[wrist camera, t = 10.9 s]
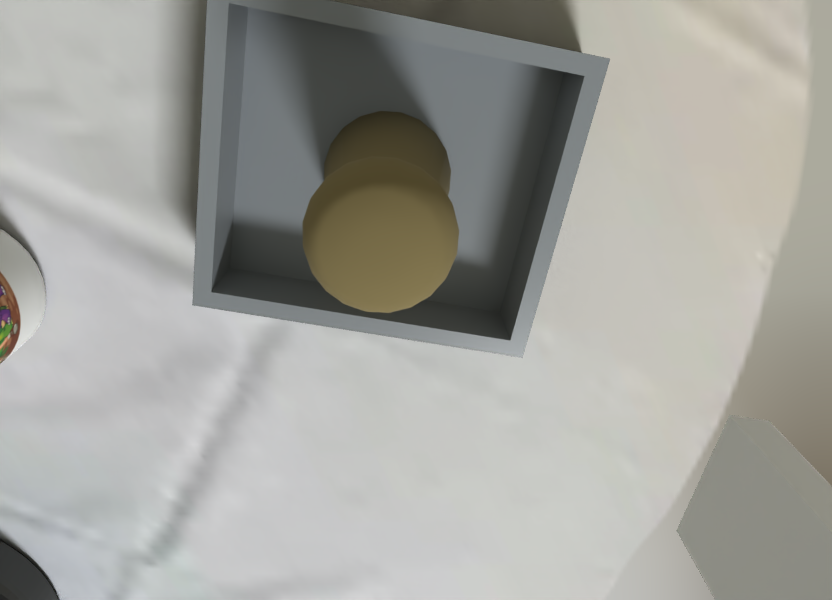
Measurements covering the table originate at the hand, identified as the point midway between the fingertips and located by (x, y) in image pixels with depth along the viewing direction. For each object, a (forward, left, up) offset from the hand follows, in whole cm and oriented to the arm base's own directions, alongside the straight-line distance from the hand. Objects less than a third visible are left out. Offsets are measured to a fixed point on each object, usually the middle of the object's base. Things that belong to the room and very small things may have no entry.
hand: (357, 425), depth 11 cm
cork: (0, 0, -20) cm, 20 cm away
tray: (0, 0, -21) cm, 21 cm away
